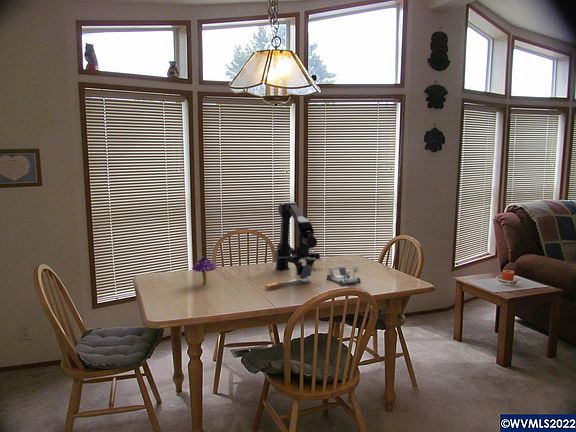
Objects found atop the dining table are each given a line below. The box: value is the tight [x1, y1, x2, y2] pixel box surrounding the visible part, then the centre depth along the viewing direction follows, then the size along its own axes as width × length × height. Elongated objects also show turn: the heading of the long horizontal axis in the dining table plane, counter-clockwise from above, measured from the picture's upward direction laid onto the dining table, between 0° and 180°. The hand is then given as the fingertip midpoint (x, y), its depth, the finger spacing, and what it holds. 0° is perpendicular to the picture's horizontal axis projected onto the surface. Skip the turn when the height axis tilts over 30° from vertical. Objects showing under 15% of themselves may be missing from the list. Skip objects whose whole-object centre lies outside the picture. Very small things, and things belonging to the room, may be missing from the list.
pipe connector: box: [303, 250, 322, 269], centre depth 272 cm, size 10×10×10 cm
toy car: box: [326, 265, 362, 287], centre depth 242 cm, size 18×10×12 cm
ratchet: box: [264, 275, 311, 291], centre depth 236 cm, size 28×7×6 cm, turn 128°
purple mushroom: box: [191, 256, 217, 286], centre depth 237 cm, size 12×12×15 cm
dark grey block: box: [296, 262, 312, 277], centre depth 242 cm, size 5×5×6 cm
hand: (303, 273), depth 242 cm, fingers closed on dark grey block, 5 cm apart
